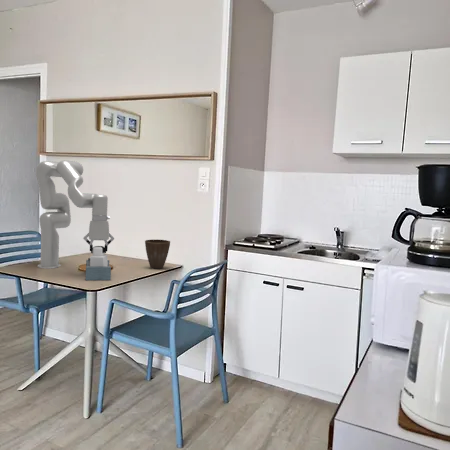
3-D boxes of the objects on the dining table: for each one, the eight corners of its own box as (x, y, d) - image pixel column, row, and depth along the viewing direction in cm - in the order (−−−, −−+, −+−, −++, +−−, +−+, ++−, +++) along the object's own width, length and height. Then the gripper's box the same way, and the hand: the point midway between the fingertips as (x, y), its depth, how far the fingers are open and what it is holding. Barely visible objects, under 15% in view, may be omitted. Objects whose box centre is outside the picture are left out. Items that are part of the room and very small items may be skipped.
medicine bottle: (94, 267, 227) (94, 245, 226) (107, 267, 227) (107, 245, 225) (89, 270, 220) (89, 247, 218) (103, 270, 220) (103, 247, 218)
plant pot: (157, 271, 244) (158, 243, 242) (138, 267, 252) (139, 240, 250) (174, 267, 256) (175, 241, 255) (155, 264, 264) (156, 238, 263)
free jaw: (86, 268, 232) (86, 257, 232) (108, 268, 236) (109, 257, 235) (86, 269, 229) (86, 258, 228) (109, 269, 233) (109, 258, 232)
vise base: (86, 270, 235) (86, 258, 235) (108, 270, 239) (108, 258, 238) (85, 280, 211) (85, 267, 211) (110, 280, 215) (110, 267, 214)
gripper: (116, 218, 227) (115, 251, 229) (82, 217, 222) (81, 251, 224) (117, 219, 220) (115, 254, 222) (81, 218, 215) (80, 253, 216)
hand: (98, 252), depth 223 cm, fingers closed on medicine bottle, 6 cm apart
